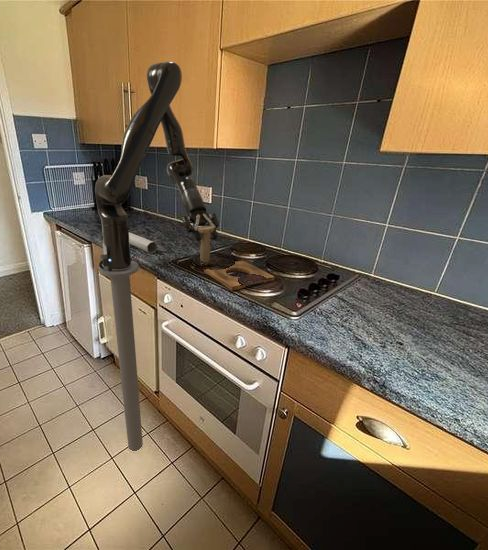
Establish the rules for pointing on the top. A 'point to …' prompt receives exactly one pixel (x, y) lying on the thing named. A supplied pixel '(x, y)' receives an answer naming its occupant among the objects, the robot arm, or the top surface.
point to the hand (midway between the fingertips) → (207, 239)
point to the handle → (205, 242)
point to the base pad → (233, 281)
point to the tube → (142, 243)
